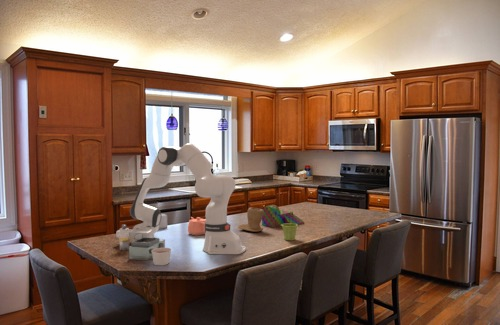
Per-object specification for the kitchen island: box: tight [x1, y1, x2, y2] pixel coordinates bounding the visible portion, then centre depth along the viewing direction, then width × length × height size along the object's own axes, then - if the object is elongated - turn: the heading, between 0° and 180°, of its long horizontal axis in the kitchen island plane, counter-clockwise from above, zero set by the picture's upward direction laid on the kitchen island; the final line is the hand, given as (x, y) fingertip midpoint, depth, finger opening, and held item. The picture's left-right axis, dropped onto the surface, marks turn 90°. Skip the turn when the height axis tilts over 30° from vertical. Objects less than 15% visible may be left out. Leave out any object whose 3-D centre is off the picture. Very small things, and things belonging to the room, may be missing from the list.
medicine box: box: [158, 213, 168, 230], centre depth 265 cm, size 8×4×9 cm, turn 141°
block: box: [261, 204, 305, 229], centre depth 275 cm, size 25×17×14 cm
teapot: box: [187, 216, 206, 237], centre depth 247 cm, size 12×18×10 cm, turn 34°
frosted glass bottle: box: [118, 224, 130, 251], centre depth 210 cm, size 5×5×13 cm
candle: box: [151, 247, 172, 266], centre depth 184 cm, size 9×9×6 cm
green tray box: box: [128, 237, 166, 261], centre depth 199 cm, size 11×18×8 cm, turn 166°
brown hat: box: [237, 206, 264, 233], centre depth 255 cm, size 15×12×15 cm
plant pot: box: [281, 223, 299, 242], centre depth 230 cm, size 9×9×9 cm
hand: (126, 237), depth 213 cm, fingers open, 8 cm apart
